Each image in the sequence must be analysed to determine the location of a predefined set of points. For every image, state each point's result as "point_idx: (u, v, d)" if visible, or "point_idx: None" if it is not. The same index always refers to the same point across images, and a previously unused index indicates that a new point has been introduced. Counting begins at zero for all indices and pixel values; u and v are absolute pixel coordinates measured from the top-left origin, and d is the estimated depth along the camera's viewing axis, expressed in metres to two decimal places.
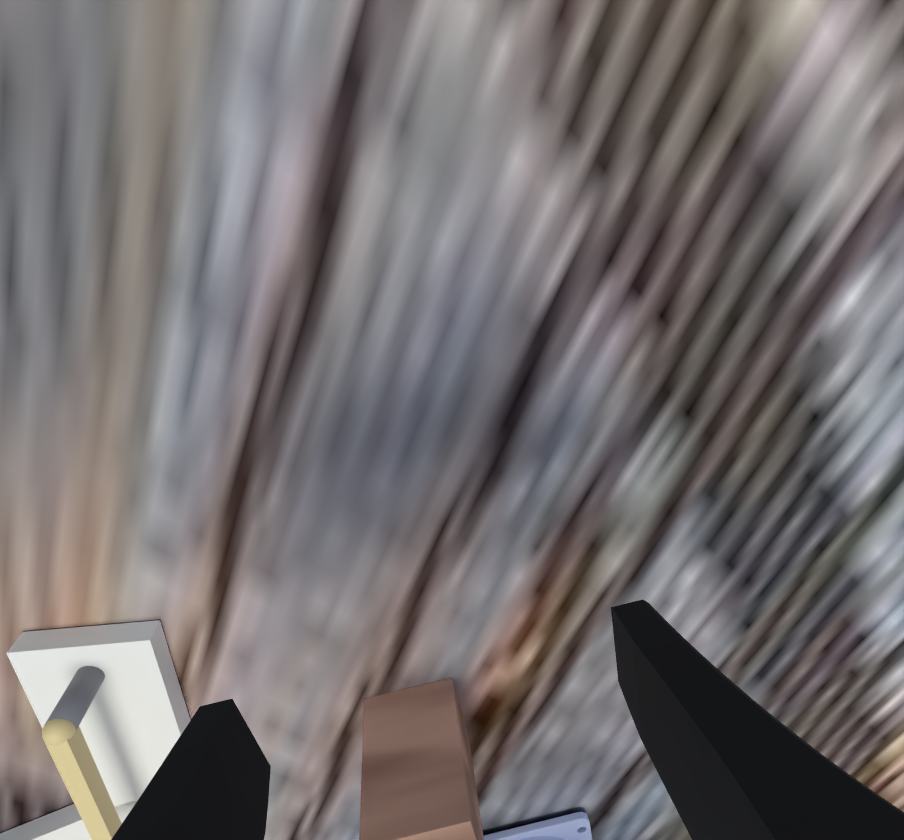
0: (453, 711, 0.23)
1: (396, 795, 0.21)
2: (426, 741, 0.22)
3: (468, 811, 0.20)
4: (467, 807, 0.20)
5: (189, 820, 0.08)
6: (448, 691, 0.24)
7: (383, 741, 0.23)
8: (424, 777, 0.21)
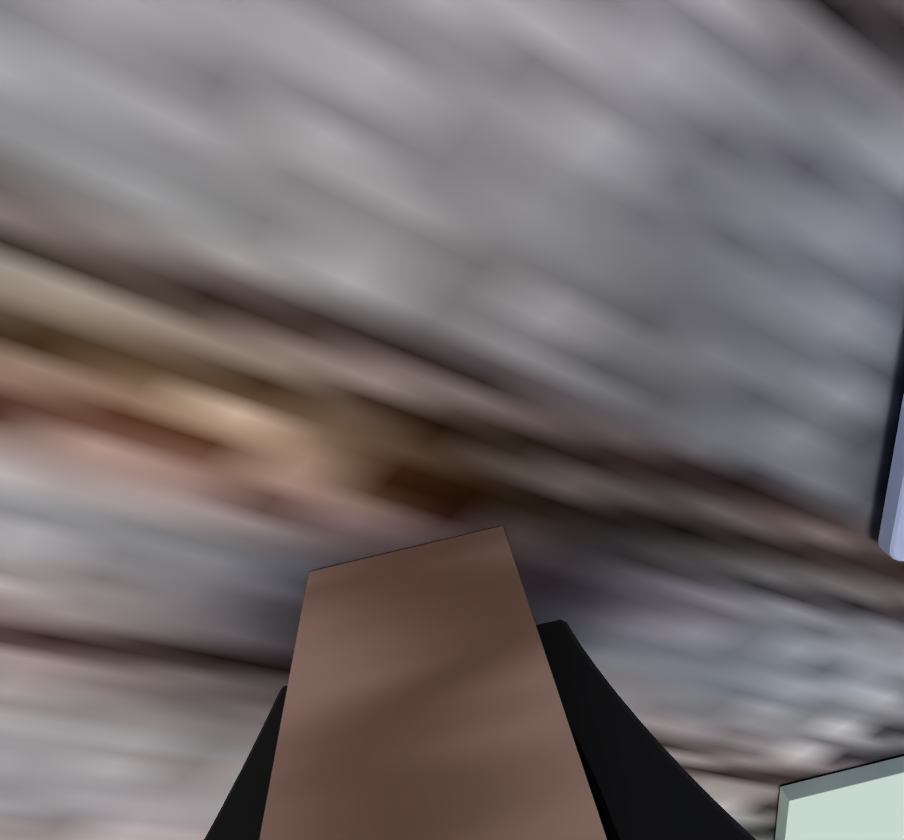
0: (297, 640, 0.10)
1: None
2: None
3: None
4: None
5: None
6: None
7: None
8: None
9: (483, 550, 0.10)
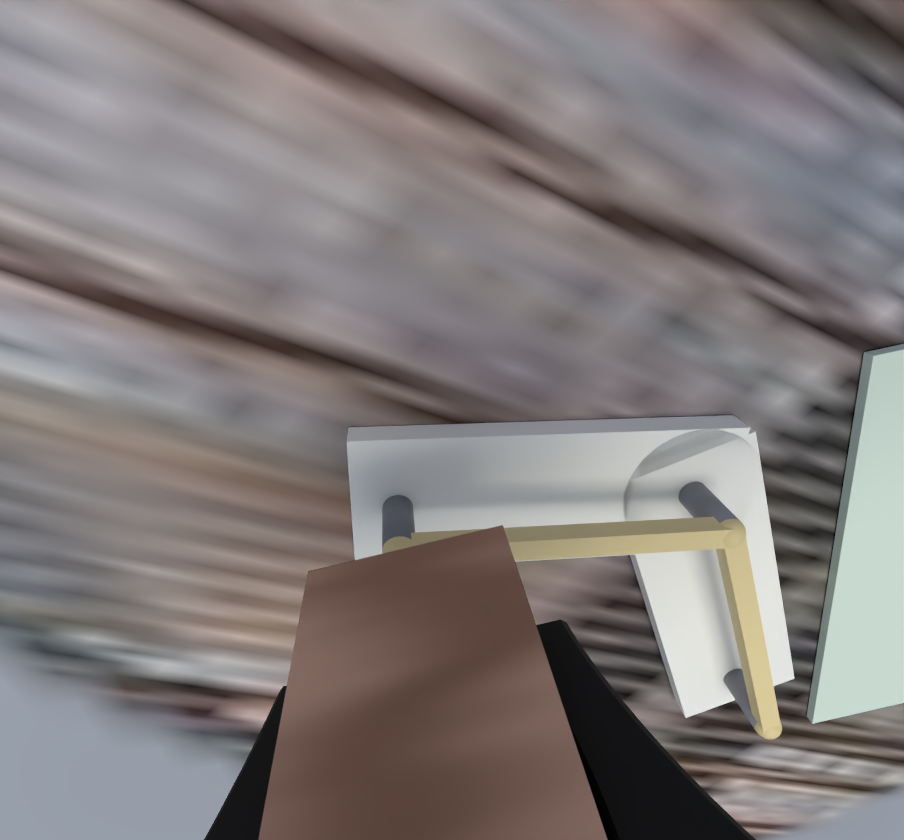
0: (297, 639, 0.09)
1: None
2: None
3: None
4: None
5: None
6: None
7: None
8: None
9: (483, 549, 0.10)
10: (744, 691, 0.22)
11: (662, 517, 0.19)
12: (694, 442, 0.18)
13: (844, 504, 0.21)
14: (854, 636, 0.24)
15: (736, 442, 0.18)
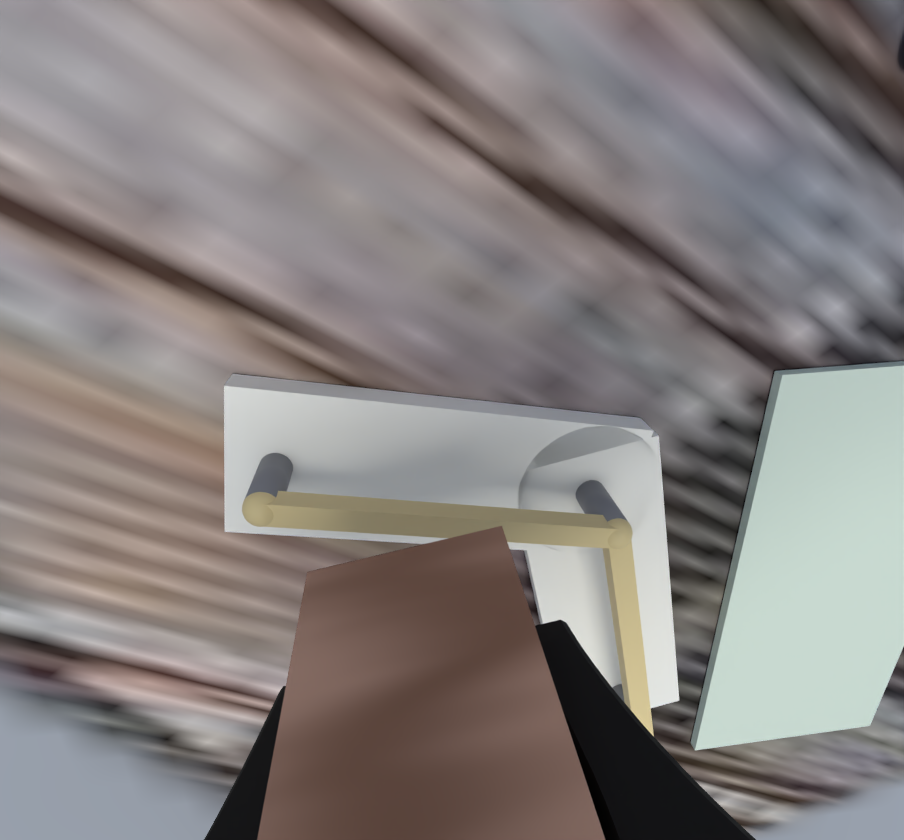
0: (296, 640, 0.09)
1: None
2: None
3: None
4: None
5: None
6: None
7: None
8: None
9: (482, 550, 0.10)
10: None
11: None
12: (595, 439, 0.18)
13: (743, 525, 0.21)
14: (742, 663, 0.24)
15: (638, 444, 0.18)
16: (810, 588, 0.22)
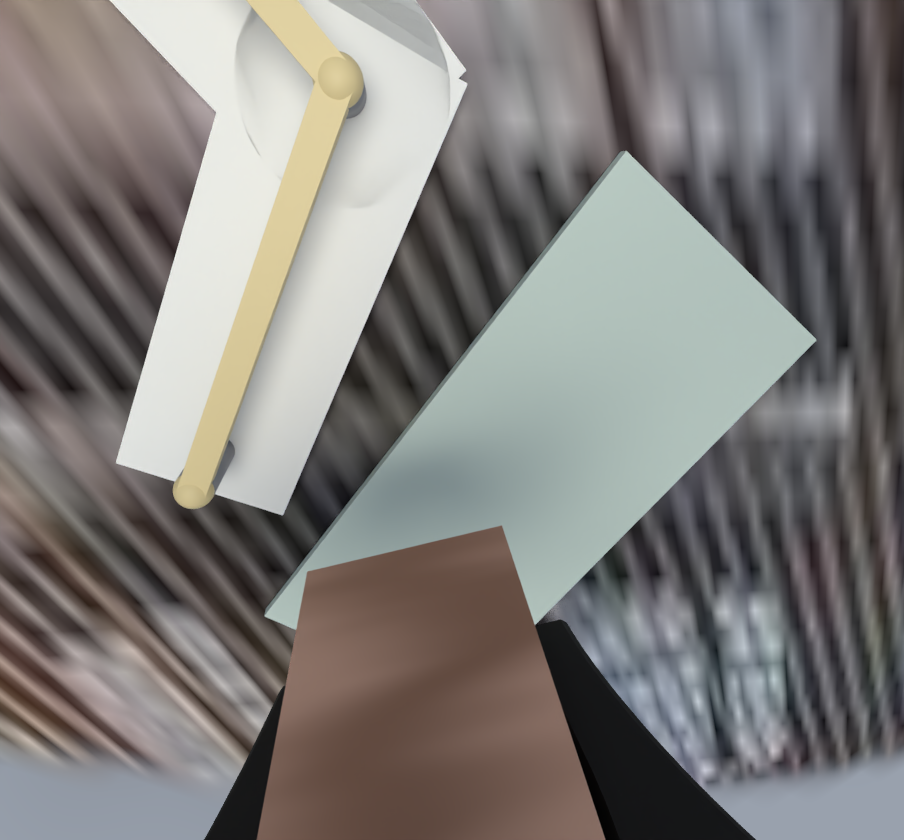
0: (296, 640, 0.09)
1: None
2: None
3: None
4: None
5: None
6: None
7: None
8: None
9: (482, 550, 0.10)
10: None
11: (287, 89, 0.13)
12: (395, 12, 0.12)
13: (482, 332, 0.16)
14: (381, 525, 0.19)
15: (439, 74, 0.13)
16: (499, 472, 0.18)
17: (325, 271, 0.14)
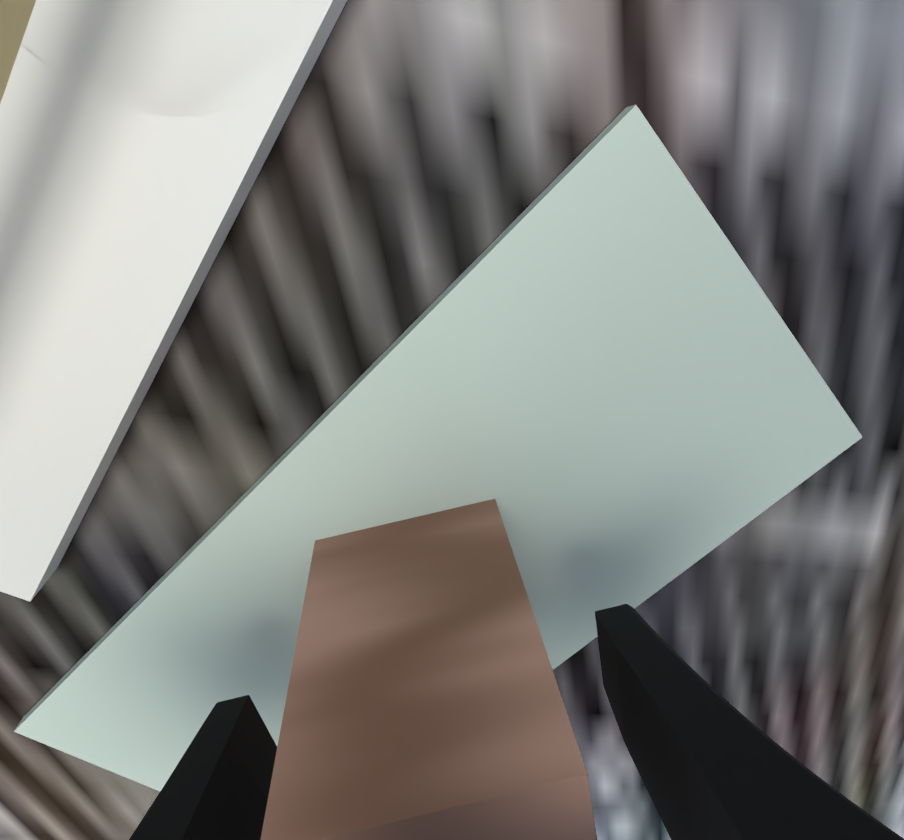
0: (306, 598, 0.10)
1: None
2: None
3: (268, 822, 0.07)
4: (265, 815, 0.07)
5: (210, 815, 0.08)
6: None
7: None
8: None
9: (476, 520, 0.11)
10: None
11: None
12: None
13: (378, 360, 0.11)
14: (201, 623, 0.12)
15: None
16: None
17: (99, 220, 0.08)
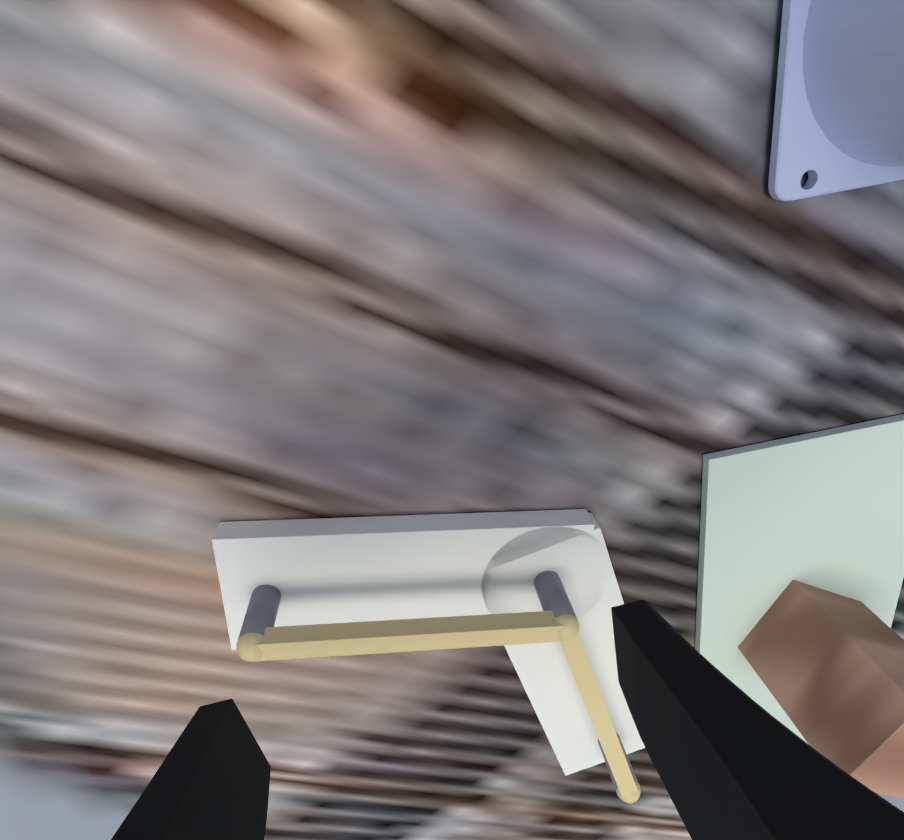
0: (762, 679, 0.23)
1: None
2: None
3: None
4: None
5: (189, 820, 0.08)
6: None
7: None
8: None
9: (795, 598, 0.22)
10: None
11: (520, 601, 0.21)
12: (542, 537, 0.20)
13: (700, 585, 0.23)
14: None
15: (583, 537, 0.20)
16: None
17: (597, 642, 0.22)
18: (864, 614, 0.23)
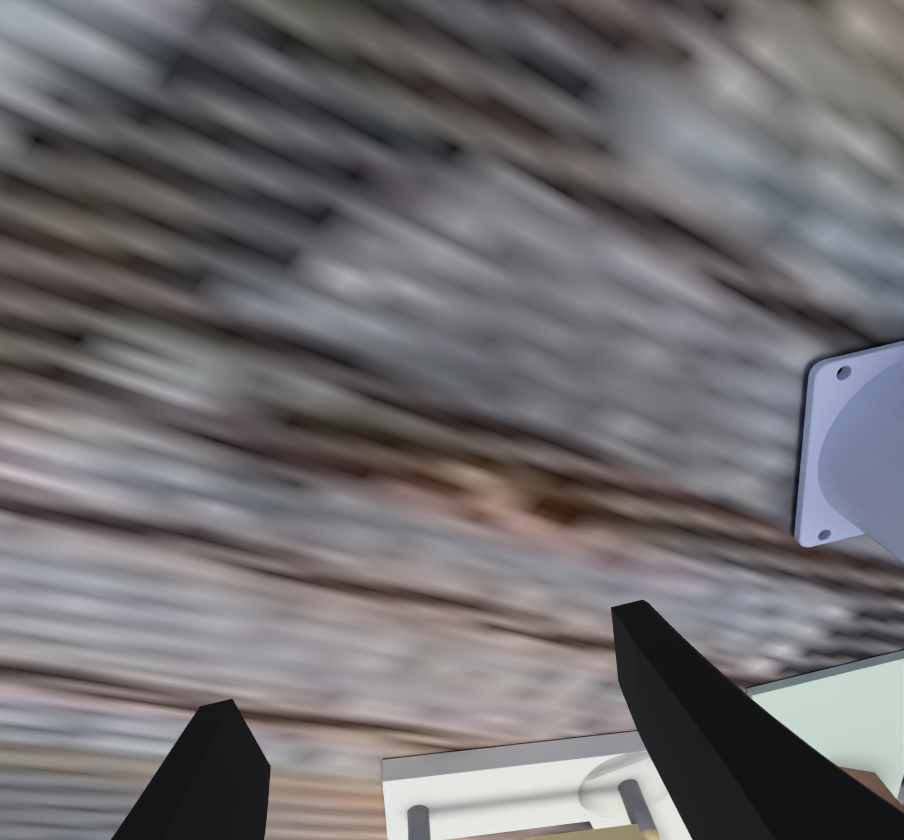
0: None
1: None
2: None
3: None
4: None
5: (188, 820, 0.08)
6: None
7: None
8: None
9: None
10: None
11: (607, 800, 0.27)
12: (625, 760, 0.26)
13: None
14: None
15: None
16: None
17: (665, 820, 0.28)
18: (877, 790, 0.29)
